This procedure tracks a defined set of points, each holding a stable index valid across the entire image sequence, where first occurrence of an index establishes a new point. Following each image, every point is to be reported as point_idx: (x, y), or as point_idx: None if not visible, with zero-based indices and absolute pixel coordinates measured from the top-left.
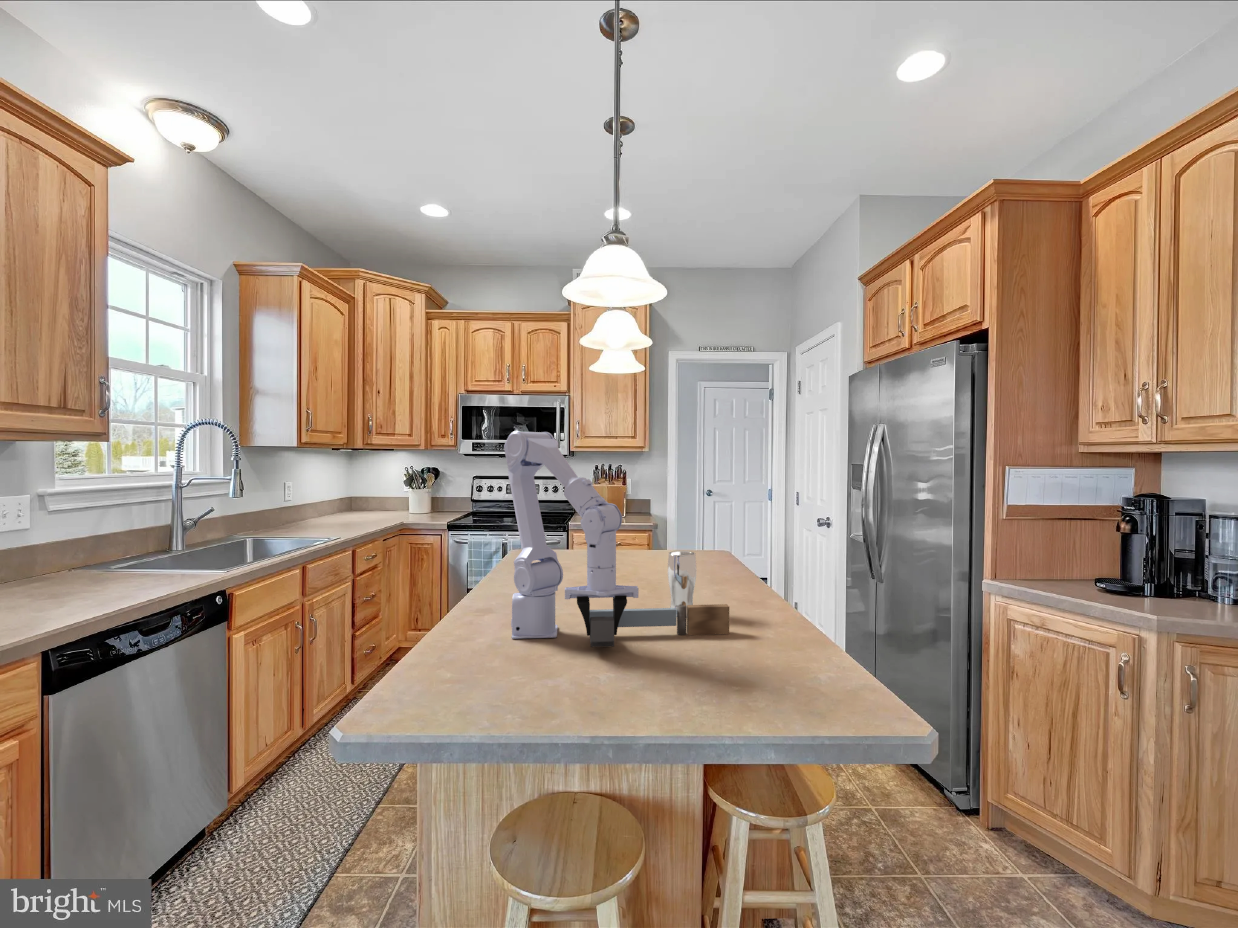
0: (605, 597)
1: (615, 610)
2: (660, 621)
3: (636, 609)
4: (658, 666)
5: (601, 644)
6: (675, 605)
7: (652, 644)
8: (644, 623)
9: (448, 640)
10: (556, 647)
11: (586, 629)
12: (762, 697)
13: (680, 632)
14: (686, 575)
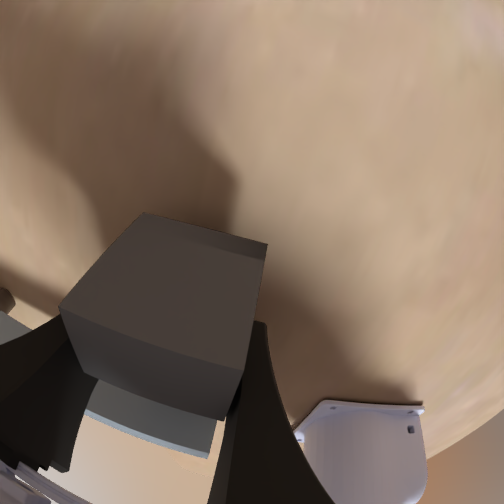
0: (78, 497)
1: (25, 373)
2: (19, 335)
3: None
4: (42, 58)
5: (204, 234)
6: None
7: (45, 261)
8: None
9: (501, 401)
10: (359, 347)
11: (268, 350)
12: None
13: (4, 295)
14: None
